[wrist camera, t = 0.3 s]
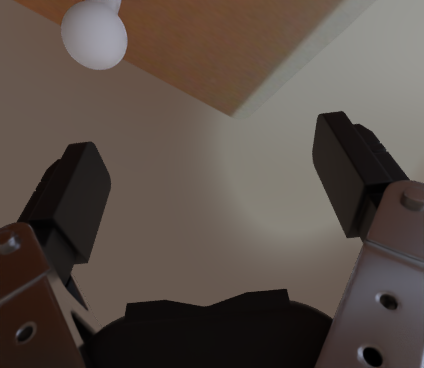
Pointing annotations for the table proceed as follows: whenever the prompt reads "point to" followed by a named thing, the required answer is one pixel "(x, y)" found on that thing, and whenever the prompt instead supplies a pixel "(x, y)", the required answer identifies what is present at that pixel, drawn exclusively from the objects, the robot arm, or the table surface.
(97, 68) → the joystick
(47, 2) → the table surface
